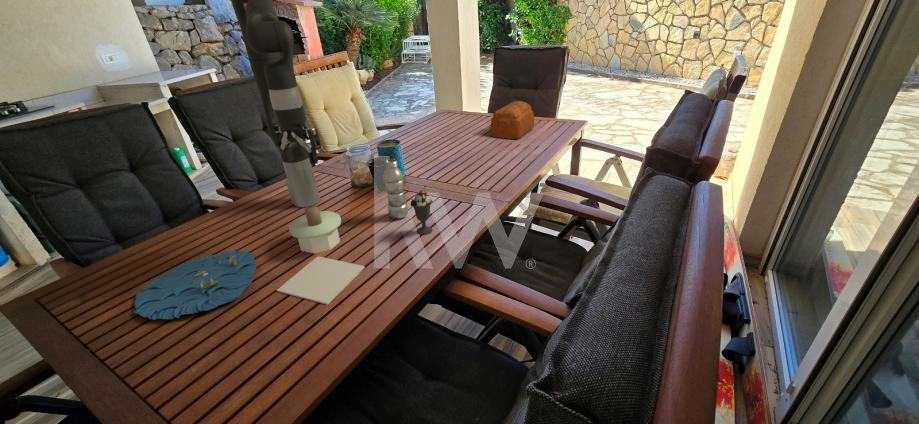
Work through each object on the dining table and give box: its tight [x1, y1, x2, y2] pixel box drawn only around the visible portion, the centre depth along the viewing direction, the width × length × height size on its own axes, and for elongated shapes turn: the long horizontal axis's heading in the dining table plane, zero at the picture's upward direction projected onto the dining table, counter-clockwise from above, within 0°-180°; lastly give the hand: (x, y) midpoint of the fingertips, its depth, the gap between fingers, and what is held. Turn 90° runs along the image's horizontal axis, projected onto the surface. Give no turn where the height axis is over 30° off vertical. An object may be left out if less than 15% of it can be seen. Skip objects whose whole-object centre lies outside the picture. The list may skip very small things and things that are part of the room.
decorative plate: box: [133, 249, 257, 320], centre depth 105 cm, size 30×30×5 cm
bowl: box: [297, 228, 341, 254], centre depth 121 cm, size 11×12×6 cm
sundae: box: [410, 185, 433, 235], centre depth 122 cm, size 7×7×15 cm
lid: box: [288, 205, 342, 239], centre depth 118 cm, size 15×15×6 cm
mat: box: [276, 255, 366, 306], centre depth 105 cm, size 16×16×1 cm
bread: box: [490, 100, 535, 140], centre depth 211 cm, size 17×24×15 cm
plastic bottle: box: [382, 158, 409, 220], centre depth 130 cm, size 6×7×20 cm
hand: (302, 162), depth 112 cm, fingers open, 8 cm apart
